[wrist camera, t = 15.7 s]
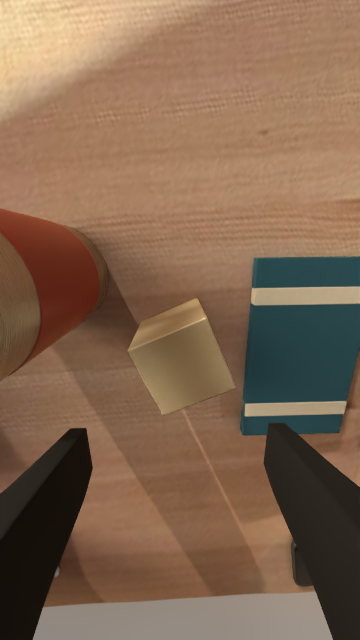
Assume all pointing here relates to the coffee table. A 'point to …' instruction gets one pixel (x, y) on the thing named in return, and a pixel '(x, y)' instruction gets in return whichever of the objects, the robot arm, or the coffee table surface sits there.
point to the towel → (301, 343)
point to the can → (43, 285)
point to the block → (180, 358)
